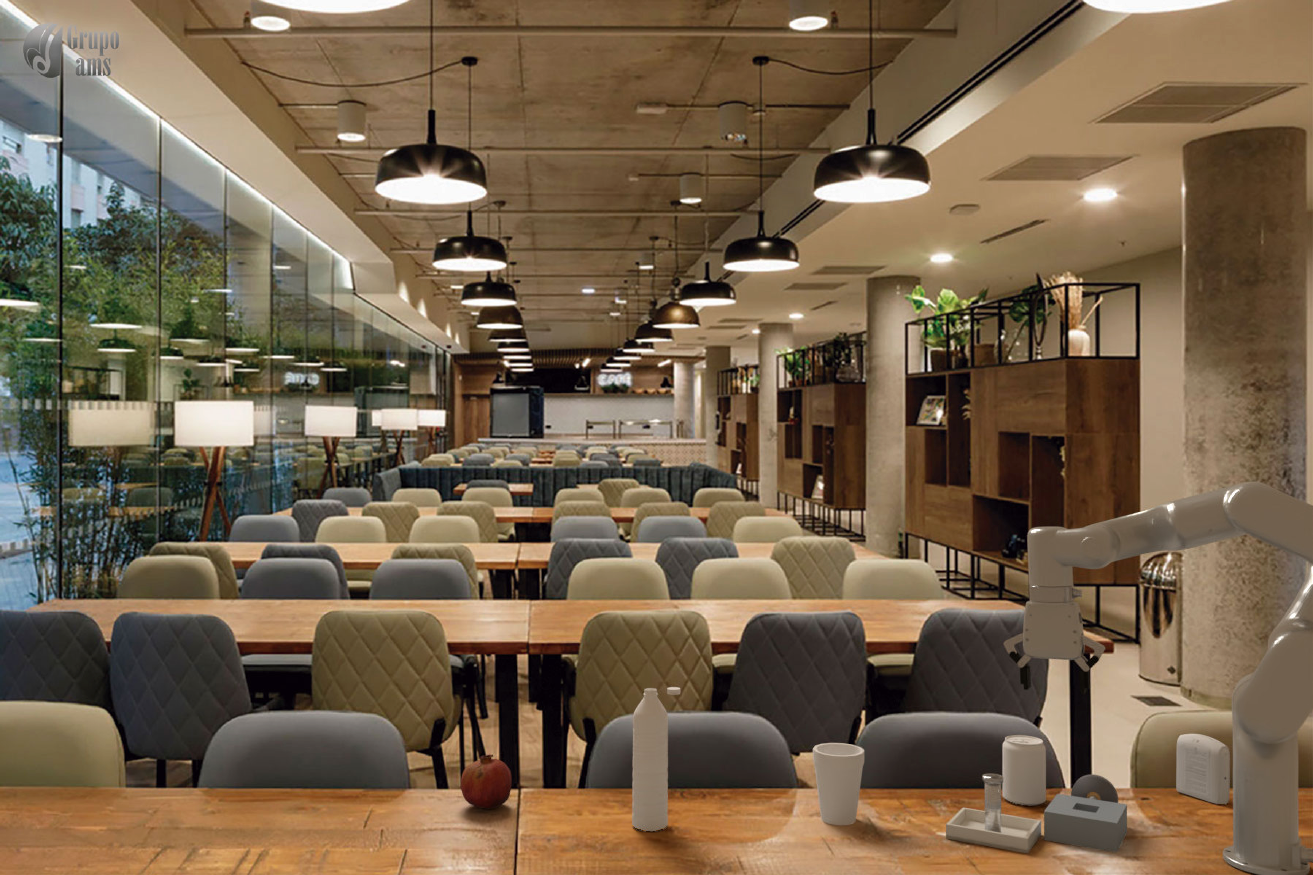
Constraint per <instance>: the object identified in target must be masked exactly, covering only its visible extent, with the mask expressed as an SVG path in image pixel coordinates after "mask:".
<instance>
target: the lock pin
mask: <svg viewBox="0 0 1313 875" xmlns="http://www.w3.org/2000/svg"><path fill="white" fill-rule="evenodd" d="M981 778H982V781H983V782H984V811H985V830H988V831H993V832H999V833H1001V814H1002V784H1003V775H1001V774H998V773H983V774H982V777H981Z"/></svg>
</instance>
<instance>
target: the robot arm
mask: <svg viewBox="0 0 1313 875" xmlns="http://www.w3.org/2000/svg"><path fill="white" fill-rule="evenodd" d="M1247 535H1249V536H1251V537H1253V538H1254V539H1257V540H1259V541H1261V542H1263V543H1265V544H1267V545H1269V546H1272V547H1274V548H1276V549H1279V550H1281V551H1282V552H1285V553H1287V554H1290V555H1293V556H1294V557H1297V558H1298V559H1301V560H1302V561H1304V562H1307V565H1308V568H1307V569H1308V570H1307V574H1306V578H1305V580H1304V581H1303V584H1302V585H1301V587H1300V589H1299V591H1298V592H1297V594H1296V596H1295V598H1294V600H1293V602H1292V603H1291V604H1290V606H1289V608H1288V609H1287V611H1285V612H1286V613H1285V614H1284V615H1283V617H1282V618H1281V620H1280V621H1279V623H1278V624H1277V625H1276V627H1275V628H1274V629H1273V630H1272V632H1271V633H1270V634H1269V637H1268V640H1267V650H1266V652H1265V654H1264V655H1263V657H1262V659H1261V660H1260V662H1259V663H1258V665H1257V667H1256V668H1255V670H1254V671H1253V672H1252V673H1249V674H1247V675H1245V676H1243V677H1242V678H1240V680H1239V681H1238V682H1237V683H1236V685H1235V686H1234V689H1233V691H1232V693H1231V694H1232V695H1231V716H1232V718H1231V719H1232V720H1231V721H1232V722H1231V723H1232V817H1233V818H1232V832H1233V833H1232V837H1233V838H1232V839H1233V840H1232V842H1233V844H1232V845H1229V846H1226V847H1225V848H1224V849H1223V851H1222V859H1223V860H1224V861H1225V862H1226V863H1227V864H1229V865H1230V866H1232V867H1234V868H1237V869H1238V870H1240V871H1244V872H1247V873H1250V874H1254V875H1308V874H1309V873H1310V869H1311V868H1310V867H1311V865H1310V863H1313V848H1311V847H1306V845H1302V837H1299V738H1298V737H1299V734H1298V733H1299V732H1298V731H1300V729H1301V727H1302V726H1303V725H1304V723H1305V722H1306V721H1307V719H1308V717H1309V716H1310V715H1311V713H1312V711H1313V504H1310V503H1307V502H1305V501H1303V500H1301V499H1299V498H1296V497H1294V496H1291V495H1289V494H1287V493H1285V492H1283V491H1281V490H1278V489H1276V488H1274V487H1272V486H1270V485H1268V484H1267V483H1263V482H1260V481H1244V482H1241V483H1236V484H1232V485H1229V486H1225V487H1221V488H1217V489H1213V490H1210V491H1205V492H1202V493H1199V494H1195V495H1190V496H1187V497H1183V498H1180V499H1174V500H1172V501H1171V500H1170V501H1168V502H1165V503H1161V504H1159V505H1156V506H1155V507H1152V508H1149V509H1146V510H1143V511H1139V512H1135V513H1130V514H1127V515H1123V516H1119V517H1115V518H1111V519H1108V520H1103V521H1100V522H1097V523H1092V524H1090V525H1086V526H1084V527H1079V528H1066V527H1063V526H1036V527H1032V528H1030V529H1029V530H1028V532H1027V535H1026V537H1027V539H1026V541H1027V560H1028V561H1027V562H1028V587H1029V588H1028V591H1029V600H1027V601H1026V603H1025V608H1024V616H1023V625H1022V626H1023V628H1022V633H1020V634H1017V635H1015V636H1013V637H1010V638H1009V639H1007V640H1005V641H1004V642H1003V646H1004V648H1005V650H1006V651H1007V654H1008V656H1009V657H1010V659H1011V660H1012V661H1014V662H1015V663H1016V665H1017V667H1018V668H1019V679H1020V680H1019V681H1020V684H1021V685H1023V690H1024V691H1027V690H1029V689H1030V688H1031V687H1032V682H1031V681H1032V680H1031V679H1032V678H1031V675H1032V674H1031V665H1029V662H1030V661H1031V660H1032V658H1033V659H1048V660H1063V661H1064V660H1065V661H1074V662H1075V663H1076V665H1078V666H1079V667H1080V670H1079V671H1078V672H1079V673H1078V675H1079V677H1078V678H1079V681H1078V682H1079V693H1080V694H1082V695H1085V694H1086V693H1087V689H1088V690H1089V689H1090V688H1091V679H1090V678H1091V675H1090V670H1091V668H1093V667H1094V666H1095V665H1096V664H1097V663H1098V662H1099V661H1100V659H1101V657H1102V656H1103V654H1104V651H1105V650H1106V646H1105V645H1104V644H1102V643H1099V641H1095V639H1092V638H1090V637H1088V636H1087V635H1085V633H1084V626H1083V617H1082V612H1081V607H1080V604H1079V602H1075V601H1074V600H1075V599H1076V598H1082V597H1083V590H1082V589H1078V588H1076V587H1075V585H1074V574H1073V572H1074V571H1073V568H1074V567H1075V568H1083V569H1088V570H1089V569H1090V570H1099V569H1102V568H1105V567H1107V566H1108V565H1110V563H1113V562H1116V561H1120V560H1125V559H1129V558H1133V557H1136V556H1137V557H1138V556H1140V555H1146V554H1150V553H1155V552H1157V553H1158V552H1165V551H1171V552H1172V551H1175V552H1176V551H1183V550H1188V549H1193V548H1198V547H1200V546H1206V545H1209V544H1213V543H1217V542H1221V541H1225V540H1229V539H1234V538H1237V537H1242V536H1247ZM1021 642H1022V649H1023V653H1024V655H1023V656H1022V655H1021V654H1020V652H1018V651H1017V650H1016V648H1015V645H1017V644H1018V643H1021ZM1085 646H1087V647H1089V648H1091V649H1092V650H1093V651H1094V652H1093V655H1092V656H1091V657H1090V658H1089V659H1087V658H1086V656H1084V654H1085V648H1086V647H1085Z"/></svg>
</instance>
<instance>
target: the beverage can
mask: <svg viewBox="0 0 1313 875" xmlns="http://www.w3.org/2000/svg"><path fill="white" fill-rule="evenodd" d="M1043 740H1044V739H1041V738H1039V737H1036V736H1031V735H1025V734H1024V735H1023V734H1016V735H1015V734H1014V735H1008V736H1005V738H1004V741H1003V742H1002V776H1003V783H1002V798H1003V799H1005V800H1006V801H1008V802H1009V801H1010V802H1009V803H1011V802H1013V803H1012V804H1014V803H1015V804H1014V805H1017V804H1021V805H1020V806H1023V805H1028V806H1027V807H1032V806H1038V805H1039V806H1040V805H1041V804H1043V803H1045V802H1046V800H1047V794H1046V793H1047V780H1046V779H1047V748H1046V745H1045V744H1044V741H1043Z"/></svg>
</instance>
